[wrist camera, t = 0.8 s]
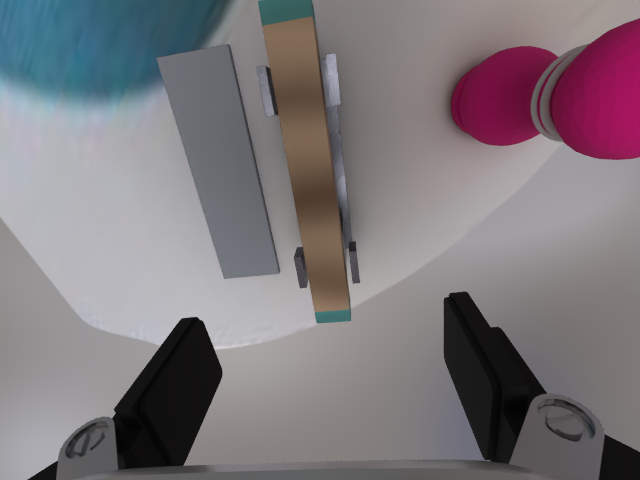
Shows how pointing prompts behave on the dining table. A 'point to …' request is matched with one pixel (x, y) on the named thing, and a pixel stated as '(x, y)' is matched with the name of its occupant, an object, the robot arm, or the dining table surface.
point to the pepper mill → (558, 96)
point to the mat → (221, 158)
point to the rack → (334, 131)
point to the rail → (308, 149)
